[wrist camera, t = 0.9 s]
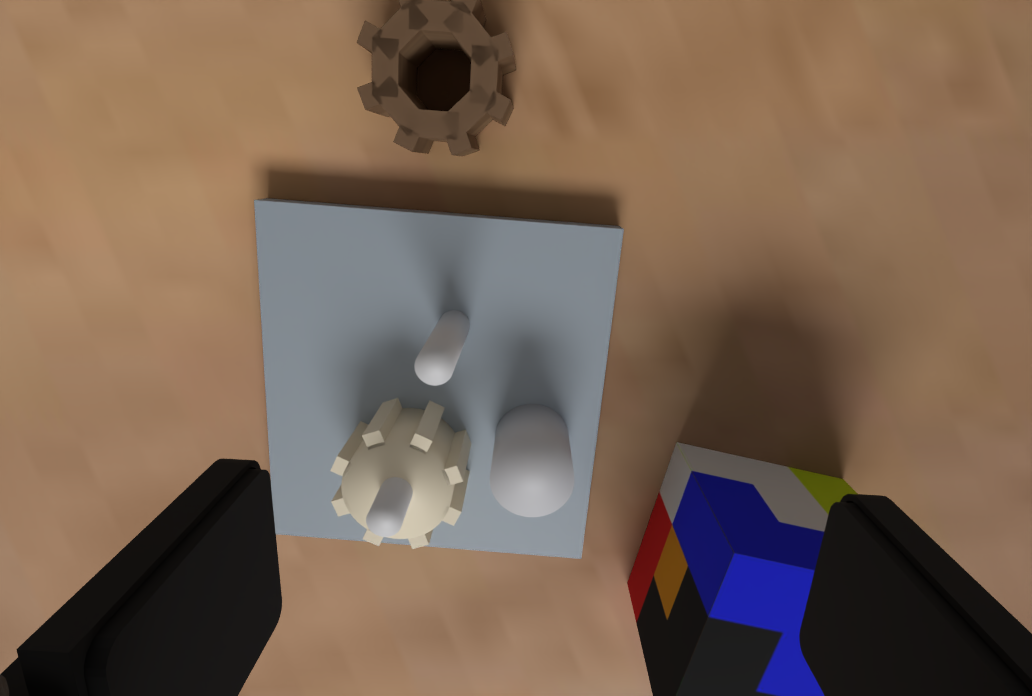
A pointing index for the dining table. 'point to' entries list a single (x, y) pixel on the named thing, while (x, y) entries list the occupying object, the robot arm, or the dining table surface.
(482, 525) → the gear board
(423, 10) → the walnut gear
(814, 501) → the puzzle toy
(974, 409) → the dining table surface
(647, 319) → the dining table surface
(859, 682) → the robot arm
